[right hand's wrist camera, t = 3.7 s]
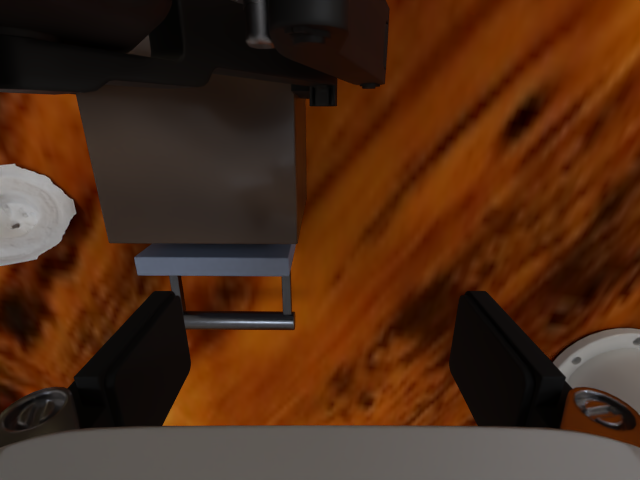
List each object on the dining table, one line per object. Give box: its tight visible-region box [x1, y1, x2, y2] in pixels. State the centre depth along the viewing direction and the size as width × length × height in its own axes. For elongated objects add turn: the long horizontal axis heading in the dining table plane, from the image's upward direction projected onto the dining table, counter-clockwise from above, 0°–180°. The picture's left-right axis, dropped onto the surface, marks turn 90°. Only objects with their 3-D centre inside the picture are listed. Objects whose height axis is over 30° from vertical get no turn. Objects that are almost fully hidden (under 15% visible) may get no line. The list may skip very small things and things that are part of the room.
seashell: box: [0, 164, 76, 266], centre depth 26 cm, size 8×5×8 cm
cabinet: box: [76, 35, 307, 244], centre depth 21 cm, size 14×10×11 cm
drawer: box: [134, 243, 296, 330], centre depth 23 cm, size 18×9×9 cm, turn 0°
